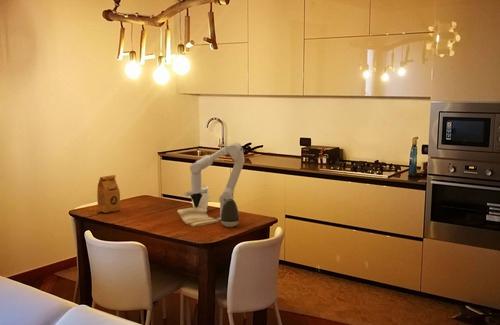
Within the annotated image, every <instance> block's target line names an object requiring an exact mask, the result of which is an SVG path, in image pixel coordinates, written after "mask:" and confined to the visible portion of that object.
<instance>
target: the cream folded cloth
mask: <svg viewBox="0 0 500 325" xmlns="http://www.w3.org/2000/svg"><path fill="white" fill-rule="evenodd" d="M176 211H177V213H178V215H179V216H180V218H181V219H182V221H183V223H184V224H186V221H191V220H196V219H202V218H207V217H209V215H208V214H207V211H206V212H205V211H204V209H203V208H202V206H198V207H193V206H192V207H187V208H181V209H177V210H176Z"/></svg>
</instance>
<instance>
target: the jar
mask: <svg viewBox="0 0 500 325" xmlns="http://www.w3.org/2000/svg"><path fill="white" fill-rule="evenodd" d="M209 187H210V186H206V185H201V190H204V189H206V190H208V193H202V197H201V199H200V202H199V206H202V208H203V209H204V211H205V212H206V213H207V212H208V209H207V208H208V206H209V199H210V194H209ZM191 203H192V207H194V202H193V200H192V199H191Z"/></svg>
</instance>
